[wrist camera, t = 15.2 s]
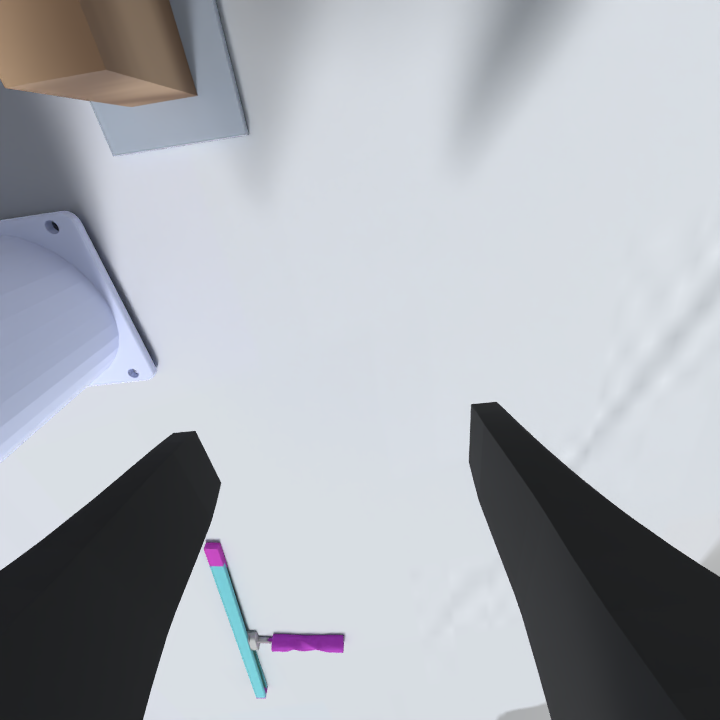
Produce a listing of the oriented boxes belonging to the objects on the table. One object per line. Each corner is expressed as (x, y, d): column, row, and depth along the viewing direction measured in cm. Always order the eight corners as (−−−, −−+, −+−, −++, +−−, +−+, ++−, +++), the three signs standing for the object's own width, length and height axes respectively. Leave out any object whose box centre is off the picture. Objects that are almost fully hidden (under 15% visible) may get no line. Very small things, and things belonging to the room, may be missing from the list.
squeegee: (344, 702, 40) (255, 701, 40) (345, 683, 42) (259, 682, 42) (340, 554, 26) (202, 552, 26) (341, 533, 27) (210, 530, 27)
